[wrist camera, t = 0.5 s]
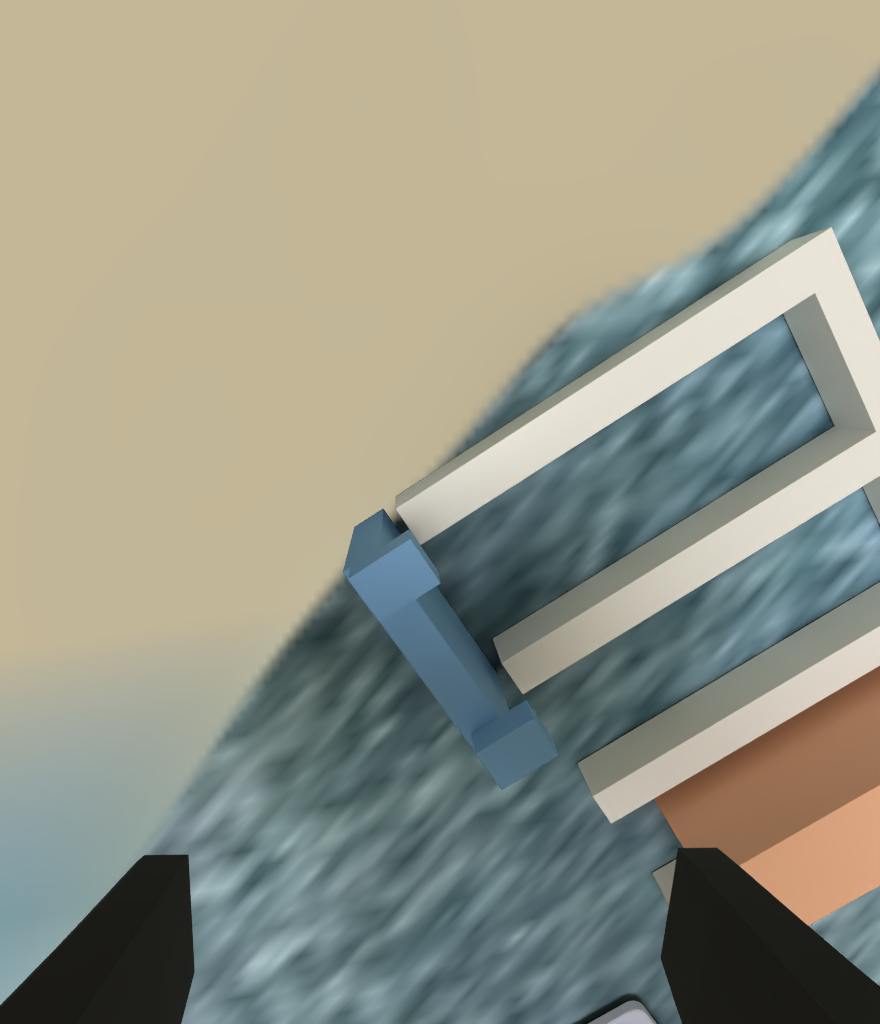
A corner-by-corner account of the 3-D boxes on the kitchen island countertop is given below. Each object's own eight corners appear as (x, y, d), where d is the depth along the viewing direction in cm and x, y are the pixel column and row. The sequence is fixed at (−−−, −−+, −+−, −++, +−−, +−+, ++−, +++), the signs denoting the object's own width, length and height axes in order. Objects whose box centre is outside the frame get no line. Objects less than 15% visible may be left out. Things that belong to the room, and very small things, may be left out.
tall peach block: (908, 702, 21) (1046, 792, 16) (679, 835, 21) (753, 957, 17) (875, 634, 20) (1010, 710, 15) (639, 774, 20) (705, 884, 16)
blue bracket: (518, 660, 19) (559, 755, 14) (470, 690, 19) (494, 794, 14) (406, 493, 17) (410, 538, 13) (354, 527, 18) (339, 584, 13)
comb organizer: (996, 706, 21) (1045, 733, 19) (667, 895, 21) (688, 936, 20) (790, 240, 17) (831, 227, 15) (395, 496, 17) (395, 508, 16)
